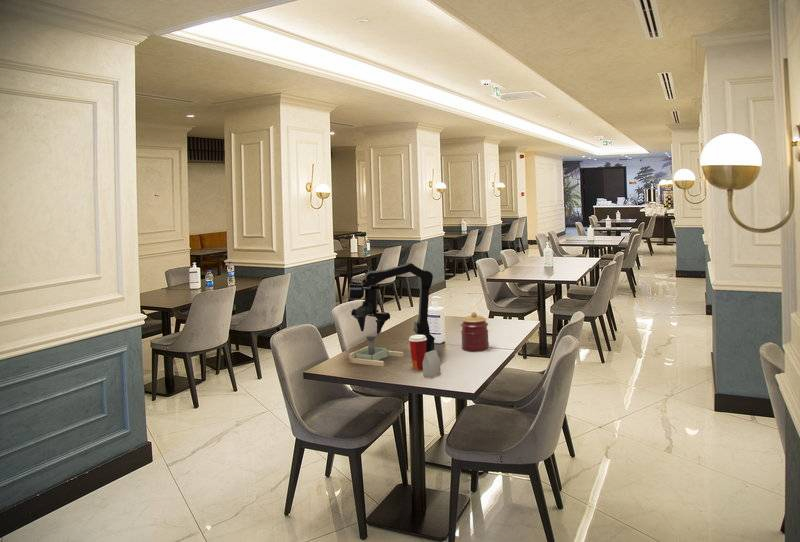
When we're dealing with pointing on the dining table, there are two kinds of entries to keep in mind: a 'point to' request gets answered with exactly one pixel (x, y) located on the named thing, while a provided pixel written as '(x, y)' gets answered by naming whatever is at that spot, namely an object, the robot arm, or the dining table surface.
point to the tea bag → (431, 364)
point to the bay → (371, 362)
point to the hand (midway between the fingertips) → (370, 332)
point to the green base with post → (372, 351)
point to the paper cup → (418, 350)
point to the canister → (474, 333)
